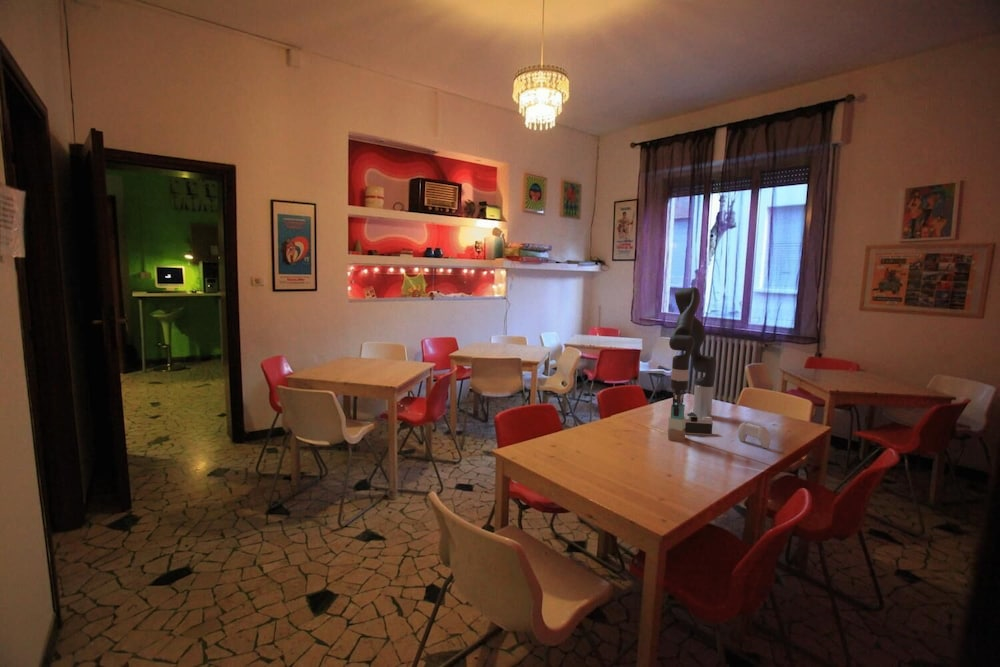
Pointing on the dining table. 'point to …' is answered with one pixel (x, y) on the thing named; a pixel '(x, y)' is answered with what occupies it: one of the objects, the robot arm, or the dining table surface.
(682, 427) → the sage block
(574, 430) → the dining table surface
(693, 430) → the camera
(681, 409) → the teal block
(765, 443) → the game controller
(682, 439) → the walnut base block
